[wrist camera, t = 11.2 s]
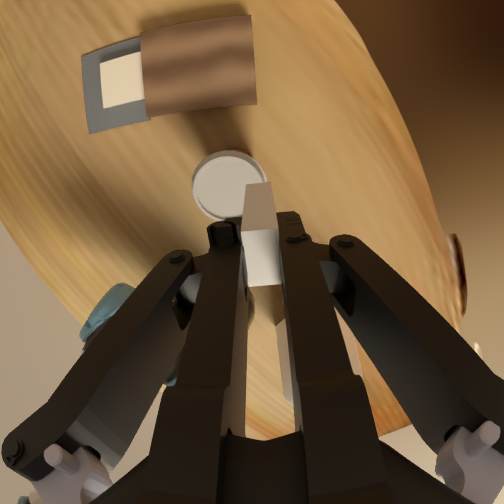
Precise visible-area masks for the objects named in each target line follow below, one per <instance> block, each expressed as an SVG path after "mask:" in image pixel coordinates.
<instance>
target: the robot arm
mask: <svg viewBox="0 0 504 504" xmlns="http://www.w3.org/2000/svg"><path fill="white" fill-rule="evenodd" d="M207 233H208V238H209V243H210V248H209V252H208V253H207V254H204V255H201V256H198V257H194V258H193V256H192V253H191V252H190V251H188V250H176V251H172V252H171V253H169V254H167V255H166V256H164V257H163V258H162V259H161V260H160V262H159V263H158V264H157V265H156V266H155V267H154V268H153V269H152V271H151V272H150V273H149V274H148V275H147V276H146V277H145V278H144V280H143V281H142V282H141V283H140V284H139V285H138V286H137V288H136V289H135V288H134V287H132V286H130V285H128V284H126V283H118V284H116V285H114V286H113V287H112V288H111V289H110V290H109V291H108V292H107V293H106V294H105V295H104V296H103V298H102V299H101V300H100V301H99V303H98V304H97V305H96V307H95V308H94V310H93V311H92V312H91V314H90V316H89V317H88V320H87V321H86V323H85V324H84V326H83V327H82V329H81V331H80V338H81V339H82V341H83V342H86V343H85V345H84V347H83V349H82V352H81V353H82V355H81V356H80V358H79V359H78V360H77V362H76V363H75V364H74V366H73V367H72V368H71V370H70V371H69V372H68V374H67V375H66V376H65V378H64V379H63V381H62V382H61V383H60V385H59V386H58V388H57V389H56V390H55V392H54V393H53V394H52V396H51V397H50V399H49V400H48V402H47V403H45V404H44V405H43V406H42V407H41V408H39V409H38V410H37V411H36V412H34V413H33V414H32V415H31V416H30V417H28V418H27V419H26V420H25V421H24V422H22V423H21V424H20V425H19V426H18V427H16V428H15V429H14V430H13V431H12V432H10V433H9V434H8V436H7V437H6V438H5V440H4V442H3V444H2V452H1V453H2V458H3V461H4V463H5V464H6V466H7V467H9V468H10V469H12V470H13V471H15V472H16V473H18V474H20V475H22V476H23V477H25V478H26V479H28V480H29V481H30V482H32V484H33V485H34V488H35V489H36V490H35V491H32V492H30V494H29V497H27V496H26V497H25V496H21V497H20V498H19V500H18V503H17V504H493V502H494V500H495V499H496V497H497V496H498V494H499V492H500V491H501V489H502V487H503V485H504V380H503V379H501V378H500V377H498V376H497V375H495V374H494V373H493V372H492V371H491V370H490V368H489V367H488V366H487V365H486V364H485V362H484V361H483V360H482V359H481V358H480V357H479V356H478V354H477V353H476V352H475V351H474V350H473V349H472V348H471V347H470V346H469V344H468V343H467V342H466V341H465V340H464V339H463V338H462V337H461V336H460V335H459V333H458V332H457V331H456V330H455V329H454V328H453V327H452V326H451V325H450V324H449V323H448V322H447V321H446V320H445V319H444V318H443V317H442V316H441V315H440V314H439V313H438V312H437V311H436V310H435V309H434V308H433V307H432V306H431V305H430V304H429V303H428V302H427V301H426V300H425V299H424V298H423V297H422V296H421V295H420V294H419V293H418V292H417V291H416V290H415V289H414V288H413V287H412V286H411V285H410V284H409V283H408V282H407V281H406V280H405V279H403V278H402V277H401V276H400V275H399V274H398V273H397V272H396V271H395V270H394V269H393V268H392V267H390V266H389V265H388V264H387V263H386V262H385V261H384V260H383V259H382V258H380V257H379V256H378V255H377V254H376V253H375V252H374V251H372V250H371V249H370V248H369V247H368V246H367V245H366V244H364V243H363V242H362V241H361V240H360V239H358V238H356V237H354V236H351V235H346V234H343V235H338V236H335V237H333V238H331V239H330V242H329V245H325V244H318V243H314V242H312V239H311V237H310V236H309V234H307V233H305V230H304V227H303V224H302V221H301V218H300V215H299V214H297V213H296V212H294V211H291V212H279V213H276V210H275V204H274V199H273V193H272V187H271V182H265V183H255V184H246V189H245V197H244V206H243V215H242V217H233V218H226V219H225V220H222V221H217V222H215V223H212V224H211V225H209V226H208V227H207ZM247 283H248V285H247ZM277 284H282V297H283V304H284V312H285V321H286V331H287V341H288V351H289V361H290V371H291V382H292V394H293V405H294V417H295V432H294V433H291V434H288V435H285V436H281V437H278V438H274V439H271V440H266V441H261V440H255V439H250V438H246V436H245V406H246V370H247V336H248V329H249V327H250V325H251V323H252V321H253V318H254V314H255V302H254V298H253V296H252V294H251V292H250V291H249V290H248V287H252V286H265V285H277ZM173 300H174V301H173ZM334 307H335V308H336V310H337V311H338V313H339V314H340V315H341V317H342V318H343V320H344V321H345V323H346V324H347V326H348V327H349V328H350V330H351V331H352V333H353V334H354V336H355V337H356V339H357V340H358V342H359V343H360V345H361V346H362V347H363V349H364V350H365V352H366V353H367V355H368V356H369V358H370V359H371V361H372V362H373V364H374V365H375V367H376V368H377V370H378V371H379V373H380V374H381V376H382V377H383V379H384V380H385V382H386V383H387V385H388V387H389V388H390V390H391V391H392V393H393V394H394V396H395V397H396V399H397V400H398V402H399V404H400V405H401V407H402V408H403V410H404V411H405V413H406V415H407V416H408V418H409V419H410V421H411V423H412V424H413V426H414V427H415V429H416V430H417V432H418V433H419V434H420V436H421V438H422V439H423V440H424V442H425V443H426V444H427V445H428V446H429V447H430V448H431V449H432V450H433V451H434V452H435V453H436V454H437V459H436V466H435V472H436V474H437V475H438V476H439V477H442V478H443V479H444V481H445V484H446V485H445V484H443V483H442V482H440V481H439V480H437V479H436V478H434V477H432V476H431V475H430V474H428V473H427V472H425V471H424V470H422V469H421V468H420V467H418V466H416V465H415V464H414V463H412V462H411V461H410V460H408V459H407V458H405V457H404V456H403V455H401V454H400V453H398V452H397V451H396V450H394V449H393V448H392V447H390V446H389V445H387V444H386V443H384V442H382V441H380V440H379V439H378V435H377V431H376V426H375V422H374V418H373V414H372V410H371V407H370V403H369V399H368V395H367V392H366V388H365V385H364V382H363V379H362V377H361V376H360V375H355V374H354V373H353V370H352V366H351V363H350V359H349V355H348V352H347V348H346V345H345V341H344V338H343V335H342V331H341V328H340V324H339V321H338V318H337V315H336V311H335V308H334ZM162 384H165V385H166V389H165V390H164V392H163V395H162V398H161V402H160V406H159V411H158V415H157V419H156V424H155V429H154V433H153V438H152V442H151V447H150V452H149V455H148V456H147V457H146V458H145V459H143V460H142V461H141V462H140V463H139V464H138V465H137V466H135V467H134V468H133V469H132V470H130V471H129V472H128V473H127V474H126V475H124V476H123V477H122V478H121V479H119V480H118V481H117V482H116V483H114V484H113V483H112V481H111V480H110V479H109V473H110V472H111V471H112V470H113V468H115V466H116V465H117V464H118V463H119V461H120V460H121V459H122V457H123V456H124V454H125V452H126V451H127V449H128V447H129V446H130V444H131V442H132V440H133V438H134V436H135V434H136V433H137V431H138V429H139V427H140V425H141V423H142V421H143V419H144V418H145V416H146V414H147V412H148V410H149V408H150V406H151V405H152V403H153V401H154V399H155V397H156V395H157V394H158V392H159V390H160V388H161V386H162Z"/></svg>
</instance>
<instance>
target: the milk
mask: <svg viewBox="0 0 504 504" xmlns="http://www.w3.org/2000/svg"><path fill="white" fill-rule="evenodd" d="M334 308H335V307H334ZM335 311H336V315H337V318H338V321H339V324H340V328H341V331H342V335H343V338H344V341H345V345H346V348H347V352H348V355H349V359H350V363H351V366H352V370H353V373H354V374H355V375H360V376H361V377H362V379H363V375H362V370H361V365H360V360H359V356H358V351H357V347H356V342H355V338H354V334H353V333H352V331H351V330H350V328H349V327H348V326H347V324H346V323H345V321H344V320H343V318H342V317H341V315H340V314H339V313H338V311H337V310H336V308H335ZM275 327H276V335H277V343H278V351H279V359H280V368H281V376H282V385H283V393H284V396H285V398H286V400H287V401H288V402H289V403H290V404H291V406H293V407H294V405H293V394H292V382H291V371H290V361H289V351H288V341H287V331H286V321H285V318H284V319H283V320H282V321H281V322H280V323H279V324H278V325H277V326H275ZM363 382H364V380H363Z"/></svg>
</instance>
